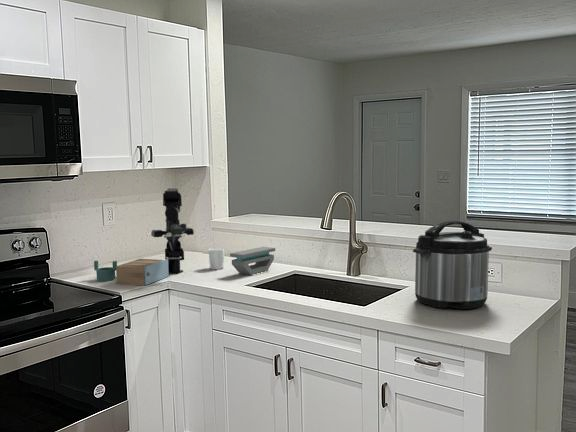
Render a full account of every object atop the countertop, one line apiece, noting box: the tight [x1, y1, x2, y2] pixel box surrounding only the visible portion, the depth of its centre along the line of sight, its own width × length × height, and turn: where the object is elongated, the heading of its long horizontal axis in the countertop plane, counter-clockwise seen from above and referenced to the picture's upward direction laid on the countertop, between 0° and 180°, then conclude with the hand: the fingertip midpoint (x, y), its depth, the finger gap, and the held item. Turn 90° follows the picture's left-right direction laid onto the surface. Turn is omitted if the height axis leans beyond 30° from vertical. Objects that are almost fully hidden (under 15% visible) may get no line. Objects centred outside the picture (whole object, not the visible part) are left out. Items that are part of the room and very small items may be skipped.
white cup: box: [208, 247, 225, 270], centre depth 296 cm, size 8×8×10 cm
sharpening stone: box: [229, 246, 276, 276], centre depth 285 cm, size 25×8×11 cm, turn 143°
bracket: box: [93, 260, 118, 283], centre depth 271 cm, size 9×9×9 cm
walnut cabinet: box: [115, 258, 164, 287], centre depth 269 cm, size 20×14×8 cm
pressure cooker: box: [412, 220, 493, 310], centre depth 224 cm, size 30×28×32 cm
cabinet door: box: [144, 259, 170, 286], centre depth 267 cm, size 20×2×8 cm, turn 163°
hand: (173, 250), depth 272 cm, fingers closed
